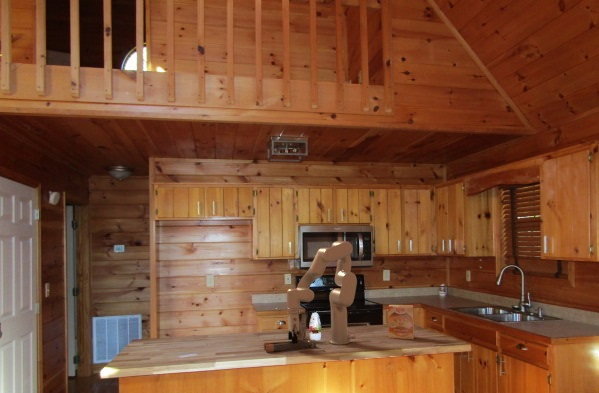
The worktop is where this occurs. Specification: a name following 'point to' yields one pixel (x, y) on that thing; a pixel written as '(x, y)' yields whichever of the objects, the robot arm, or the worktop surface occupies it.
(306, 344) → the tongs moving arm
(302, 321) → the coffee box
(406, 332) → the coffeecake box
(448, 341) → the worktop surface
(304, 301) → the robot arm
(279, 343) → the arm
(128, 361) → the worktop surface
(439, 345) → the worktop surface
